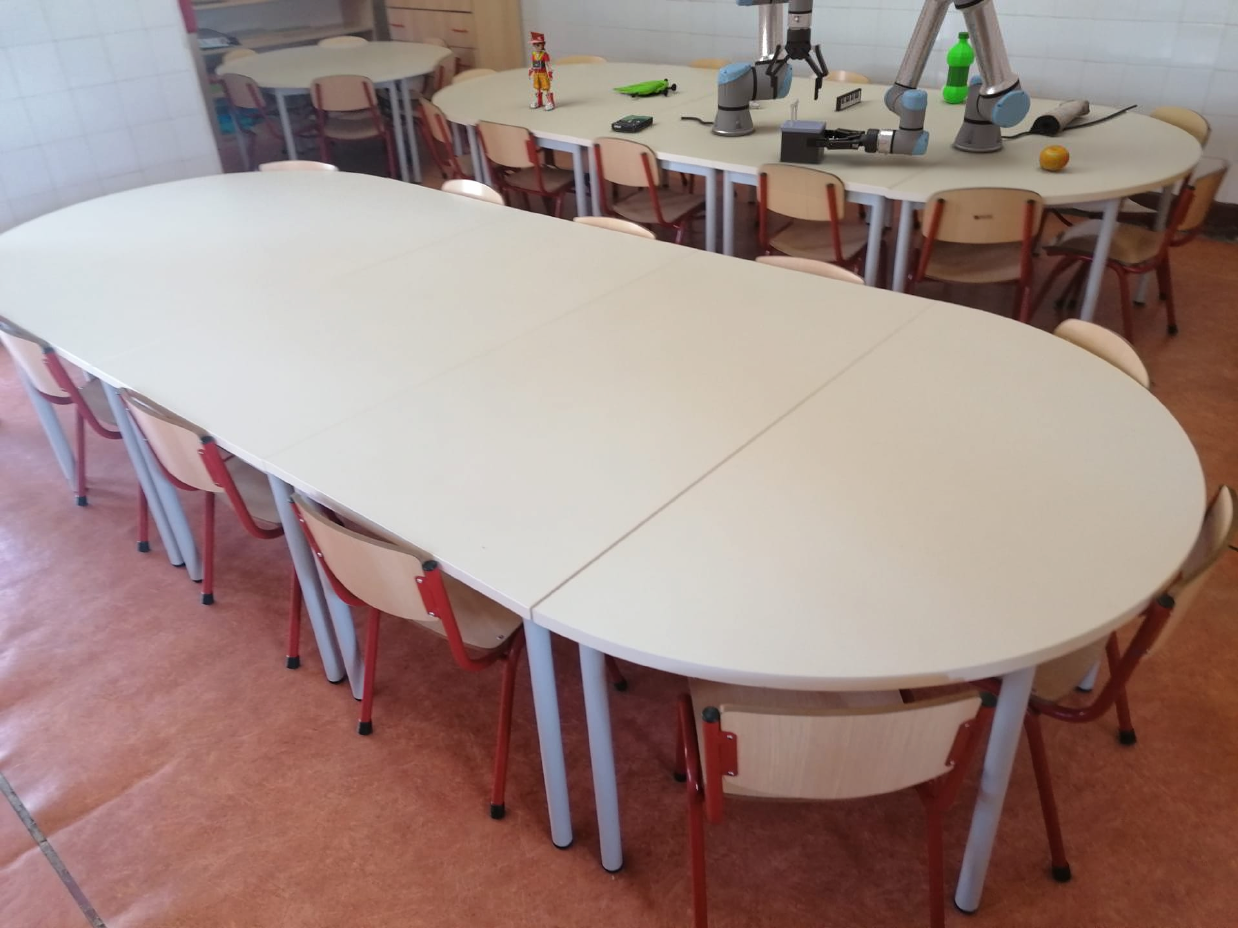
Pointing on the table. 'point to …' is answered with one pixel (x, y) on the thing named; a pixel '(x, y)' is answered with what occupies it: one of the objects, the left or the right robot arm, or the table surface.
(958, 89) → the plastic bottle
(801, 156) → the chest
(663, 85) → the toy
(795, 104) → the lid
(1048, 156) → the fruit
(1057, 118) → the rolled mat
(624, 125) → the disk drive
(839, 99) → the midi keyboard
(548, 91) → the toy
